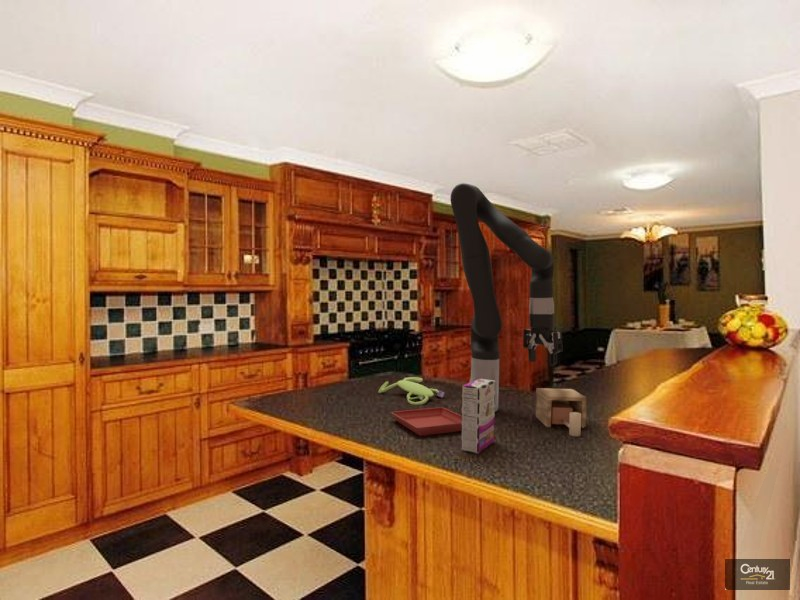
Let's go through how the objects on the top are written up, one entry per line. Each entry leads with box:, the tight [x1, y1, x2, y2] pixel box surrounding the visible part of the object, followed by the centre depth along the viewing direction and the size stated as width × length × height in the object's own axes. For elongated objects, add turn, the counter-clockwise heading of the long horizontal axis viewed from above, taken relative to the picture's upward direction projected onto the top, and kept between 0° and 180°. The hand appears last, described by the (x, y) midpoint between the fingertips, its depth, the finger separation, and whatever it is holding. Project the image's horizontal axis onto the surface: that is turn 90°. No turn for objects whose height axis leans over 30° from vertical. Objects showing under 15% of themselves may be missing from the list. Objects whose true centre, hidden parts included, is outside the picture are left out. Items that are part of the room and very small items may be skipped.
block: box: [551, 403, 582, 437], centre depth 139 cm, size 6×18×6 cm, turn 179°
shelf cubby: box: [534, 387, 588, 429], centre depth 145 cm, size 11×12×9 cm
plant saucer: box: [391, 407, 462, 437], centre depth 137 cm, size 18×18×3 cm
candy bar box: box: [460, 379, 496, 455], centre depth 120 cm, size 11×5×16 cm, turn 148°
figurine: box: [377, 376, 446, 406], centre depth 177 cm, size 18×27×6 cm
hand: (542, 363), depth 148 cm, fingers open, 8 cm apart
